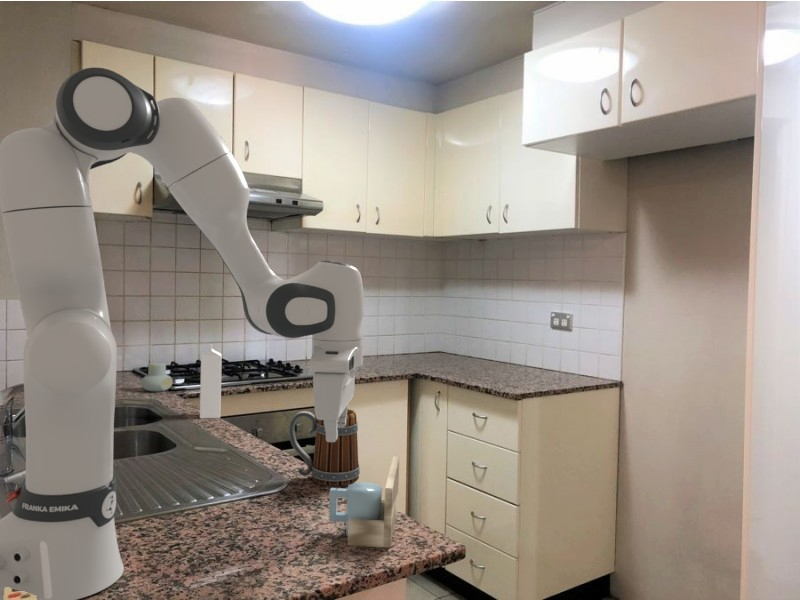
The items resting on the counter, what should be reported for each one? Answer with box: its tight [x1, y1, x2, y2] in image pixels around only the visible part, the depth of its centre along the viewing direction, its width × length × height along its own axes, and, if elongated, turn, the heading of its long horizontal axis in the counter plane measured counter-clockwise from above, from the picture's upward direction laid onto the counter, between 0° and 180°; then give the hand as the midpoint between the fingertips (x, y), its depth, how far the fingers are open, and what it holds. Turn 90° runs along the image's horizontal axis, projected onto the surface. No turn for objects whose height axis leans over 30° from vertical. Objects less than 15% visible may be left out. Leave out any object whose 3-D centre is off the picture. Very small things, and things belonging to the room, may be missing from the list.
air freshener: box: [140, 361, 174, 393], centre depth 224 cm, size 11×8×10 cm
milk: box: [199, 344, 223, 419], centre depth 188 cm, size 6×6×22 cm
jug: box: [328, 481, 383, 537], centre depth 107 cm, size 9×6×8 cm, turn 86°
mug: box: [288, 408, 360, 488], centre depth 134 cm, size 16×11×15 cm
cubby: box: [347, 455, 400, 549], centre depth 111 cm, size 7×18×10 cm, turn 176°
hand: (336, 433), depth 107 cm, fingers open, 8 cm apart
